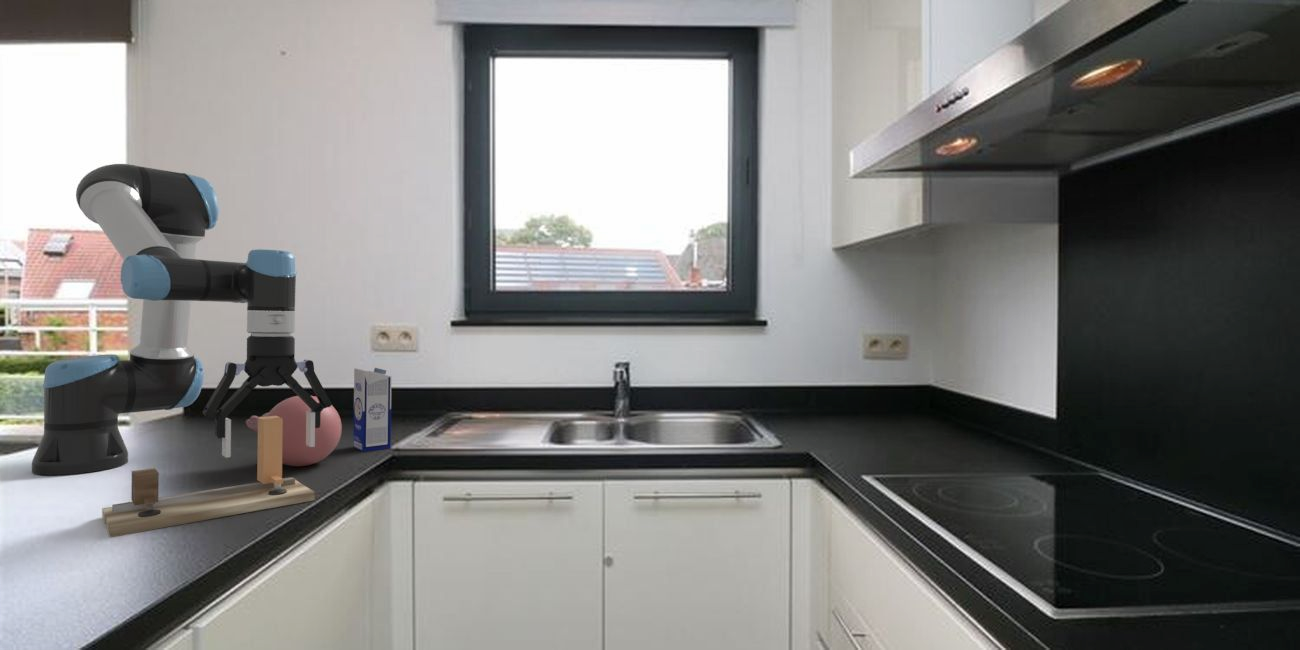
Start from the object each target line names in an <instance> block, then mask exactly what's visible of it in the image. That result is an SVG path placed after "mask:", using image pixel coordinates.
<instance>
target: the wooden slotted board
mask: <svg viewBox="0 0 1300 650" xmlns="http://www.w3.org/2000/svg"><path fill="white" fill-rule="evenodd" d="M159 475H160V474H159V471H158V469H156V468H154V467H153V468H146V469H138V470H132V471H131V498H130V500H131V501H128V502H121V503H115V504H114V503H113V504H112V505H111V506H109V507H102V510H101V512H102V513H101V514H102V515H101V517H102V520H103V523H104V526H105V525H106V526H105V528H106V530H108V531H107V533H108V535H109V537H110V538H112V537H117V536H118V537H119V536H123V535H129V534H134V533H139V532H144V531H145V532H146V531H150V530H157V529H162V528H167V527H174V526H179V525H183V524H189V523H196V522H200V521H206V520H213V519H217V518H222V517H223V518H224V517H228V516H234V515H240V514H244V513H252V512H256V511H257V512H258V511H264V510H268V509H273V508H279V507H285V506H291V505H296V504H301V503H307V502H312V501H315V497H316V495H315V493H316V492H315V491H314V490H313V489H311V488H309V487H307V486H306V485H304V484H303V483H301V482H299V481H298V480H297V479H296V478H294V477H293V476H292V477H285V478H282V479H283V484H281V489H278V490H275V489H274V483H267V484H262V483H261V482H260V481H259V482H254V483H245V484H239V485H235V486H227V487H226V486H225V487H220V488H213V489H207V490H206V489H205V490H201V491H195V492H193V491H192V492H186V493H181V494H174V495H168V496H162V497H159V489H160V487H159V484H160V483H159V481H160V480H159Z"/></svg>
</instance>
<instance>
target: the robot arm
mask: <svg viewBox="0 0 1300 650" xmlns="http://www.w3.org/2000/svg"><path fill="white" fill-rule="evenodd" d="M75 197H76V198H75V200H76V203H77V205H78V207H79V209H80V210H81V212H82V213H83V215H84V216H85V217H86V218H87V219H88V220H89V221H91V222H93V223H94V224H97V225H98V226H99V227H100V228H101V230H102V232H103V233H104V235H105V236H106V237H107V238H108V240H109V242H110V243H111V245H112V246H113V247H114V249H115V250H116V252H117V253H118V254H119V256H120V257H121V259H122V260H123V261H122V265H121V269H120V284H121V289H122V290H123V292H124V294H125V295H126V296H127V297H128V298H131V299H136V300H138V299H139V300H142V311H141V323H140V325H141V326H140V337H139V338H140V339H139V344H138V345H136V346H135V347H133V348H132V349H131V350H130V352H129V353H130V354H129V359H128V360H127V359H126V360H120V358H119V356H118V355H117V354H98V355H87V356H79V357H70V358H65V359H60V360H56V361H54V362H51V363H49V364H48V365H47V366H46V367H45V371H44V376H43V377H44V379H43V384H42V388H43V399H44V401H43V434H42V437H41V439H40V442H39V445H38V447H37V449H36V452H35V453H34V456H33V458H32V461H31V473H33V474H35V475H41V476H60V475H61V476H62V475H63V476H64V475H72V474H73V475H74V474H84V473H85V474H86V473H90V472H91V473H92V472H97V471H98V472H99V471H104V470H110V469H113V468H117V467H121V466H124V465H125V464H128V462H129V450H128V449H127V446H126V444H125V442H124V439H123V436H122V435H121V432H120V429H119V423H118V421H119V419H118V418H119V414H121V415H122V414H129V413H130V414H133V413H138V412H139V413H140V412H151V411H161V410H165V411H171V410H173V409H178V408H179V409H180V408H185V407H188V406H190V405H193V403H194V402H195V401H196V400H197V399H198V397H199V396H200V393H201V392H202V391H201V390H202V388H203V383H204V379H205V378H204V374H205V373H204V372H203V371H204V367H203V363H202V361H201V360H200V359H199V358H196V357H195V352H194V351H193V350H192V349H191V348H190V347H189V346H188V338H189V328H190V315H191V304H192V303H191V302H192V301H193V302H195V301H196V302H220V303H221V302H222V303H224V302H225V303H234V304H235V303H236V304H238V303H241V304H246V305H247V307H246V310H247V311H246V313H247V314H246V315H247V317H246V332H247V333H248V334H250V335H249V336H248V337H246V360H245V362H244V363H234V362H231V361H228V362H226V363H225V365H224V373H223V376H222V378H221V379H220V381H219V383H218V384H217V386H216V388H215V389H214V392H213V393H212V394H211V396H210V398H209V399H208V401H207V403H206V405H205V406H204V408H203V410H202V415H203V416H205V417H207V418H212V419H214V420H215V421H214V423H215V424H214V426H215V427H214V429H215V430H214V432H215V434H214V435H215V437H216V438H217V439H221V455H222V457H224V458H231V456H232V455H231V454H232V448H231V447H232V419H230V418H228V416H229V415H230V414H231V413H232V412H233V411H234V410H235V409H236V408H237V406H239V404H240V403H241V402H243V400H244V399H245V398H246V397H247V396H248V395H249V394H250V393H251V391H253V390H254V389H256V387H257V386H259V387H270V386H276V387H280V386H283V385H286V386H287V387H289V388H290V389H291V390H292V391H293V392H294V393H295V395H296V396H299V397H300V398H301V399H302V400H303V401H304V402H305V403H306V404H307V405H308V406H309V407H310V408H311V411H306V445H307V446H309V447H315V428H319V427H320V415H321V411H322V410H323V409H324V408H327V407H330V406H331V405H332V402H331V400H330V398H329V396H328V395H327V392H326V391H325V389H324V387H323V384H322V383H321V381H320V380H319V378H318V376H317V374H316V373H315V365H314V361H313V360H311V359H303V360H301V361H296V359H295V355H296V353H295V350H296V349H295V348H296V347H295V344H296V342H295V339H296V338H295V337H294V336H293V335H292V334H293V333H295V331H296V327H295V326H296V323H295V322H296V319H295V318H296V310H295V309H296V282H297V281H296V280H297V279H296V277H297V270H296V257H295V254H293V253H292V252H290V251H288V250H287V251H286V250H278V249H261V248H258V249H251V250H250V251H249V252H248V253H247V261H246V262H235V261H234V262H233V261H221V260H220V261H219V260H208V259H197V258H196V257H195V256H196V245H197V244H198V243H199V242H200V241H202V240H204V239H205V236H206V231H208V230H211V229H214V228H215V227H216V225H217V222H218V221H219V220H218V219H219V210H220V209H219V202H218V197H217V194H216V191H215V190H214V187H213V185H212V184H211V183H210V182H209V181H208V180H207V179H205V178H203V177H201V176H196V175H191V174H188V173H186V172H176V171H170V170H163V169H156V168H152V167H151V168H150V167H145V166H139V165H134V164H129V163H113V164H107V165H102V166H100V167H97V168H96V169H93V170H91V171H89V172H88V173H86V174H85V175H84V176H83V177H82V179H81V180H80V181H79V183H78V184H77V187H76V191H75ZM195 258H196V259H195ZM297 369H298V370H299V371H300V372H301V373H303V375H304V377H305V378H306V380H307V382H308V384H309V386H310V388H311V390H312V391H313V393H314V394H315V397H317V398H318V400H319V403H317V402H316V401H315V400H314V399H313V398H312V397H311V396H312V395H310V394H309V393H308V392H307V390H306V389H305V388H304V387H303V386H302V385H301V383H299V381H297V380H296V379H295V378H294V376H293V374H294V373H295V372H296V370H297ZM242 371H244V373H246V374H247V376H248V377H247V378H246V379H245V380H244V381H243V382H242V384H241V385H240V387H239V388H238V389H237V390H236V391H235V392H234V393H233V394H232V395H231V396H230V397H229V398H228V399H227V400H226V401H225V402H224V403H223V405H221V406H220V404H221V403H222V401H223V399H224V398H225V396H226V394H227V392H228V391H229V389H230V387H231V386H232V384H233V383H234V379H235V378H236V376H239V375H240V373H241V372H242ZM219 406H220V408H219ZM218 408H219V409H218Z"/></svg>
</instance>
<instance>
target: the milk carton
mask: <svg viewBox="0 0 1300 650" xmlns="http://www.w3.org/2000/svg"><path fill="white" fill-rule="evenodd" d="M353 370H354V371H353V376H354V377H353V437H352V438H353V445H352V446H353V448H355V450H356V449H357V450H358V451H361V452H372V451H379V450H389V449H391V446H392V445H391V442H392V441H391V437H392V375H388V374H386V373H387V369H386V370H385V369H382V368H379V367H374V369H373V371H372V370H366V369H361V368H354V369H353Z"/></svg>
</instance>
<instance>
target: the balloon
mask: <svg viewBox="0 0 1300 650" xmlns="http://www.w3.org/2000/svg"><path fill="white" fill-rule="evenodd" d="M310 396H311V397H312V398H313V399H314V400H315V401H316V402H317V403H319V400H318V398H317V397H316V395H315V396H313V395H310ZM306 411H311V408H310V407H309V406H308V405H307V404H306V403H305V402H304V401H303V400H302V399H301V398H300V397H299V396H298V395H296V396H295V395H294V396H291V397H288V398H285V399H284V400H282V401H280V402H279V403H277V404H276V405H275V406H274V407H273V408H271V409H270V410H269V412H266V413H264V414H262V415H260V417H268V416H278V417H280V418H283V432H282V465H287V466H290V467H306V466H311V465H314V464H316V463H319V462H320V461H322V460H325V458H326V457H328V456H330V454H331V453H332V452H333V451H334V450H335V449H336V447H337V446H338V444H339V443H340V440H341V436H342V432H343V431H342V428H343V426H342V420H341V417H340V415H339V412H338V411H337V410H336V408H335V407H334V406H333V404H331V406H330V407H327V408H324V409H323V410H322V411H321V415H320V427H319V428H315V447H309V446H307V445H306ZM258 417H259V416H258V415H251V416H250V417H249V418H248V419H246V420H245V424H246V425H247V427H248V428H249V429H250V430H253V431H254V432H255V433H258Z"/></svg>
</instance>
